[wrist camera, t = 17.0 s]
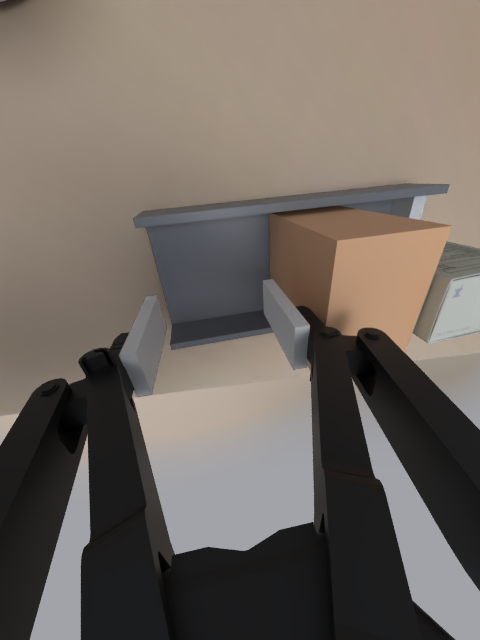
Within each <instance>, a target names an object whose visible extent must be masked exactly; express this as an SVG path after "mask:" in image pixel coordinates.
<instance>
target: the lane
mask: <svg viewBox="0 0 480 640" xmlns="http://www.w3.org/2000/svg"><path fill="white" fill-rule="evenodd" d="M449 185H450V184H398V185H388V186H379V187H369V188H360V189H350V190H341V191H331V192H321V193H312V194H302V195H293V196H283V197H274V198H264V199H255V200H245V201H236V202H226V203H217V204H207V205H198V206H188V207H179V208H169V209H160V210H150V211H143V212H142V213H140V214H139V215H137V216H136V217H134V218H133V221H134V224H135V227H136V228H140V227H146V229H147V233H148V236H149V240H150V244H151V247H152V251H153V255H154V258H155V262H156V266H157V269H158V273H159V277H160V281H161V284H162V288H163V292H164V295H165V299H166V303H167V306H168V310H169V314H170V317H171V321H172V332H171V341H170V346H171V350H174V349H179V348H185V347H191V346H197V345H203V344H209V343H214V342H220V341H226V340H232V339H238V338H243V337H249V336H255V335H261V334H267V333H273V330H272V328H271V326H270V324H269V322H268V320H267V318H266V316H265V315H264V303H263V280H269V279H270V226H269V213H274V212H283V211H292V210H300V209H309V208H318V207H327V206H336V205H338V206H344V207H349V208H355V209H361V210H366V211H372V212H377V213H383V214H389V215H394V216H400V217H406V218H411V219H417V220H420V219H421V215H422V212H423V209H424V205H425V202H426V199H427V195H434V194H443V193H447V191H448V188H449Z"/></svg>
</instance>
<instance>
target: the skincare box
mask: <svg viewBox="0 0 480 640" xmlns="http://www.w3.org/2000/svg"><path fill="white" fill-rule="evenodd" d="M475 333H480V249H479V248H474V247H470V246H465V245H460V244H456V243H451V242H447V241H446V244H445V247H444V249H443V252H442V255H441V258H440V260H439V263H438V266H437V268H436V271H435V274H434V276H433V279H432V282H431V284H430V287H429V290H428V293H427V295H426V298H425V301H424V303H423V306H422V309H421V311H420V314H419V317H418V319H417V322H416V325H415V327H414V330H413V334H415V335H416V336H418V337H419V338H421V339H423V340H424V341H425V342H427V343H433V342H438V341H444V340H448V339H453V338H458V337H462V336H467V335H471V334H475Z"/></svg>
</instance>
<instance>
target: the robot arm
mask: <svg viewBox="0 0 480 640" xmlns="http://www.w3.org/2000/svg"><path fill="white" fill-rule="evenodd" d="M263 303H264V315H265V316H266V318H267V320H268V322H269V324H270V326H271V328H272V330H273V332H274V334H275V336H276V338H277V339H278V341H279V343H280V345H281V347H282V349H283V351H284V353H285V355H286V357H287V359H288V361H289V363H290V364H291V366H292V368H293V370H295V369H301V368H307V359H308V361H309V362H310V364H311V374H310V381H311V398H312V433H313V434H312V435H313V471H314V472H313V473H314V523H313V522H311V523H307V524H303V525H299V526H295V527H291V528H286V529H282V530H279V531H277V532H276V533H274V534H273V535H271V536H270V537H268V538H266V539H265V540H263V541H262V542H260V543H259V544H257V545H255V546H254V547H252V548H251V549H249V550H247V551H238V550H229V549H220V548H212V547H206V548H202V549H198V550H193V551H189V552H185V553H181V554H176V555H175V553H174V551H173V548H172V545H171V542H170V539H169V535H168V531H167V527H166V524H165V520H164V516H163V512H162V508H161V504H160V500H159V496H158V492H157V488H156V484H155V481H154V477H153V473H152V469H151V465H150V461H149V458H148V454H147V450H146V446H145V442H144V438H143V435H142V431H141V426H140V423H139V419H138V415H137V411H136V408H135V403H134V401H133V398H132V394H133V390H134V391H135V393H136V396H137V397H141V396H147V395H152V394H153V389H154V384H155V380H156V375H157V371H158V366H159V362H160V357H161V352H162V348H163V343H164V339H165V334H166V329H167V327H166V323H165V320H164V317H163V313H162V310H161V306H160V303H159V299H158V296H157V295H154V296H146V298H145V300H144V302H143V304H142V307H141V309H140V311H139V313H138V315H137V317H136V319H135V322H134V324H133V326H132V328H131V330H130V332H128V333H121V334H120V335H119V336H118V337H117V338H116V339H115V340H114V342H113V344H112V346H111V347H110V349H108V348H98V349H94V350H92V351H89V352H87V353H86V354H84V355H83V356H82V357H81V358H80V359H79V362H78V363H79V364H80V366H81V368H82V370H83V372H84V373H85V375H86V378H85V379H83V380H80V381H77V382H75V383H72V384H68V383H67V381H66V380H65V379H61V378H60V379H54V380H51V381H48V382H46V383H44V384H42V385H41V386H40V387H38V388H37V389H36V390H35V391H34V392H33V393H32V395H31V396H30V398H29V400H28V401H27V403H26V404H25V406H24V408H23V409H22V411H21V413H20V414H19V416H18V418H17V419H16V421H15V423H14V424H13V426H12V428H11V429H10V431H9V433H8V434H7V436H6V437H5V439H4V441H3V442H2V444H1V446H0V640H30V636H31V632H32V629H33V625H34V622H35V618H36V615H37V611H38V608H39V604H40V600H41V597H42V594H43V590H44V586H45V583H46V579H47V576H48V572H49V569H50V565H51V561H52V558H53V555H54V551H55V547H56V544H57V540H58V537H59V533H60V530H61V526H62V522H63V519H64V516H65V512H66V508H67V505H68V501H69V498H70V494H71V491H72V487H73V483H74V480H75V477H76V473H77V470H78V466H79V462H80V459H81V455H82V452H83V448H84V445H85V441H86V438H87V434H88V458H89V494H90V530H91V535H90V541H89V543H88V544H87V545H86V546H85V547H84V549H83V553H82V559H81V640H455V639H454V638H453V637H452V636H451V635H449V634H448V633H447V632H446V631H445V630H444V629H443V628H442V627H441V626H439V624H437V623H436V622H435V621H434V620H433V619H432V618H431V617H430V616H429V615H428V614H426V613H425V612H424V611H423V610H422V609H421V608H420V607H419V606H418V605H417V604H416V603H414V602H413V601H412V598H411V594H410V590H409V586H408V582H407V578H406V574H405V570H404V566H403V562H402V558H401V554H400V550H399V546H398V542H397V538H396V534H395V530H394V526H393V522H392V518H391V514H390V510H389V506H388V502H387V498H386V494H385V491H384V488H383V485H382V483H381V482H380V480H378V479H376V478H375V476H374V474H373V470H372V466H371V462H370V457H369V453H368V448H367V444H366V439H365V435H364V430H363V426H362V422H361V417H360V413H359V408H358V404H357V400H356V395H355V391H354V386H353V382H352V379H353V381H354V382H355V384H356V386H357V387H358V389H359V391H360V392H361V394H362V396H363V398H364V399H365V401H366V403H367V405H368V406H369V408H370V410H371V412H372V413H373V415H374V417H375V418H376V420H377V422H378V423H379V425H380V427H381V429H382V430H383V432H384V434H385V436H386V437H387V439H388V441H389V443H390V444H391V446H392V448H393V449H394V451H395V453H396V455H397V456H398V458H399V460H400V461H401V463H402V465H403V466H404V468H405V470H406V472H407V473H408V475H409V477H410V479H411V480H412V482H413V484H414V486H415V487H416V489H417V491H418V492H419V494H420V496H421V498H422V499H423V501H424V503H425V504H426V506H427V508H428V510H429V511H430V513H431V515H432V516H433V518H434V520H435V522H436V523H437V525H438V526H439V529H440V530H441V532H442V534H443V535H444V537H445V539H446V541H447V542H448V544H449V545H450V547H451V549H452V550H453V552H454V554H455V555H456V557H457V558H458V560H459V562H460V563H461V564H462V566H463V568H464V569H465V571H466V572H467V574H468V575H469V577H470V578H471V579H472V581H473V582H474V584H475V585H476V586H477V588H478V589H479V590H480V430H479V429H478V428H477V427H476V426H475V425H474V424H473V423H472V422H471V421H470V419H468V417H467V416H466V415H465V414H464V413H463V412H462V411H461V410H460V409H459V408H458V407H457V406H456V405H455V404H454V403H453V402H452V401H451V400H450V399H449V398H448V397H447V396H446V395H445V394H444V393H443V392H442V391H441V390H440V389H439V388H438V387H437V386H436V385H435V384H434V383H433V382H432V380H431V379H429V377H428V376H427V375H426V374H425V373H424V372H423V371H422V370H421V369H420V368H419V367H418V366H417V365H416V364H415V363H414V362H413V361H412V360H411V359H410V358H409V357H408V356H407V355H406V354H405V353H404V352H403V351H402V350H401V349H400V348H399V346H398V345H397V344H396V343H395V342H394V341H393V340H392V339H391V338H390V337H389V336H388V335H387V334H386V333H384V332H383V331H381V330H379V329H376V328H367V327H366V328H361V329H360V330H358V333H357V336H347V335H342V334H341V332H340V331H339V330H337V329H336V328H333V327H327V326H325V325H324V324H323V323H322V322H321V320H320V319H319V318H318V317H317V316H316V315H315V314H314V313H313V312H312V311H311V309H309V308H307V307H305V306H296V307H295V306H294V305H293V303H292V302H291V301H290V300H289V298H288V297H287V296H286V295H285V294H284V292H283V291H282V290H281V289H280V287H279V286H278V285H277V284H276V282H275V281H274V280H273V279H269V280H263ZM351 377H352V378H351Z"/></svg>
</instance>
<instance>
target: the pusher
mask: <svg viewBox="0 0 480 640" xmlns="http://www.w3.org/2000/svg"><path fill="white" fill-rule="evenodd" d="M269 226H270V279H273V280H274V281H275V282H276V284H277V285H278V286H279V287H280V289H281V290H282V291H283V292H284V294H285V295H286V296H287V297H288V298H289V300H290V301H291V302H292V303H293V305H294V306H295V307H296V306H305V307H307V308H309V309H311V311H312V312H313V313H314V314H315V315H316V316H317V317H318V318H319V319H320V320H321V322H322V323H323V324H324V325H325V326H327V327H333V328H336V329H337V330H339V331H340V332H341V334H342V335H347V336H357V333H358V330H360V329H361V328H366V327H367V328H376V329H379V330H381V331H383V332H384V333H386V334H387V335H388V336H389V337H390V338H391V339H392V340H393V341H394V342H395V343H396V344H397V345H398V346H399V348H400V349H401V350H402V351H403V352H404V353H405V352H406V349H407V346H408V344H409V341H410V338H411V336H412V333H413V330H414V327H415V325H416V322H417V319H418V317H419V314H420V311H421V309H422V306H423V303H424V301H425V298H426V295H427V293H428V290H429V287H430V284H431V282H432V279H433V276H434V274H435V271H436V268H437V266H438V263H439V260H440V258H441V255H442V252H443V249H444V247H445V244H446V241H447V239H448V236H449V233H450V231H451V228H452V226H451V225H445V224H439V223H434V222H428V221H423V220H417V219H411V218H406V217H400V216H394V215H389V214H383V213H377V212H372V211H366V210H361V209H355V208H349V207H344V206H338V205H336V206H327V207H318V208H309V209H300V210H292V211H283V212H274V213H269ZM307 366H308V367H309V369H310V371H311V364H310V362H309V361H308V359H307Z"/></svg>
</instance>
